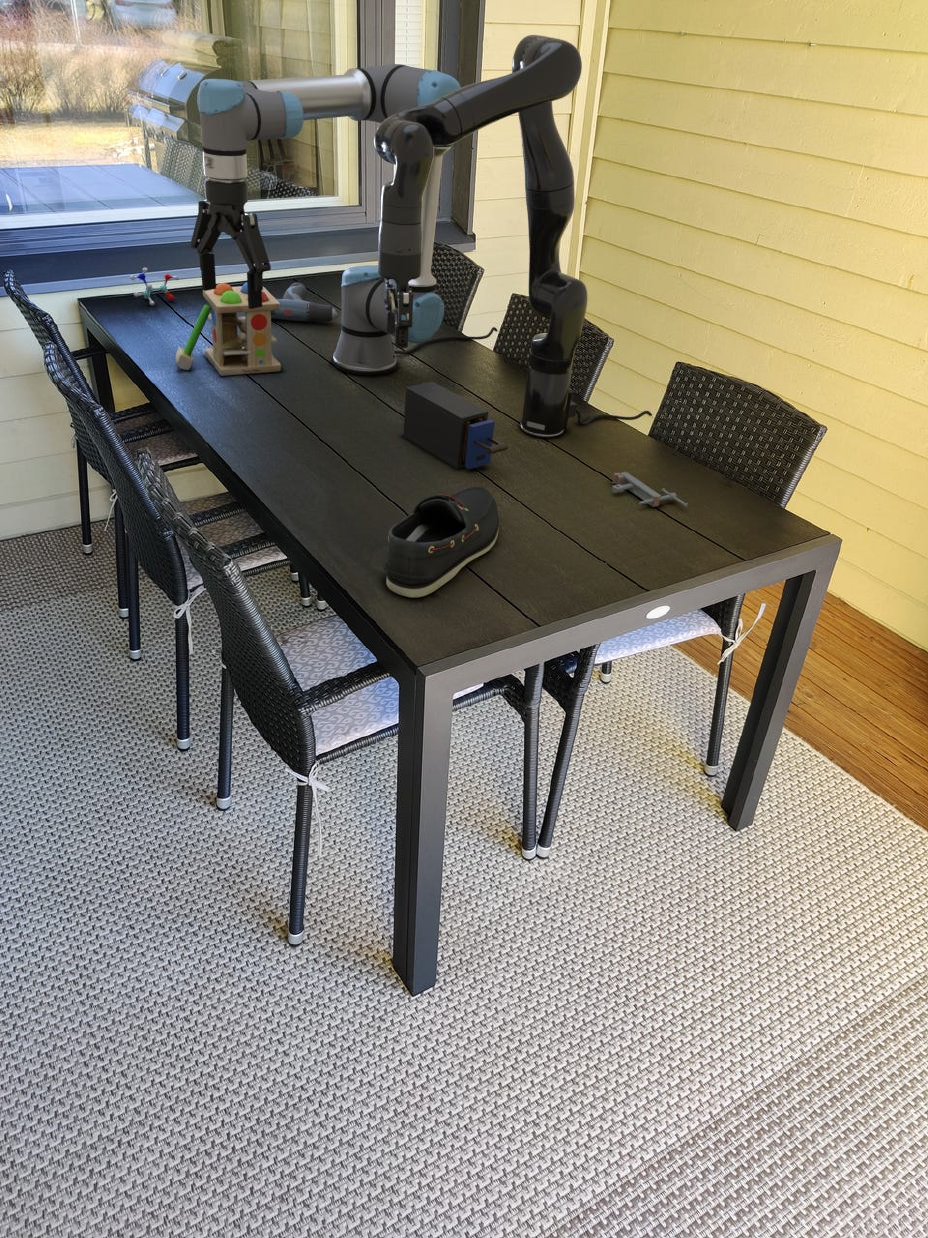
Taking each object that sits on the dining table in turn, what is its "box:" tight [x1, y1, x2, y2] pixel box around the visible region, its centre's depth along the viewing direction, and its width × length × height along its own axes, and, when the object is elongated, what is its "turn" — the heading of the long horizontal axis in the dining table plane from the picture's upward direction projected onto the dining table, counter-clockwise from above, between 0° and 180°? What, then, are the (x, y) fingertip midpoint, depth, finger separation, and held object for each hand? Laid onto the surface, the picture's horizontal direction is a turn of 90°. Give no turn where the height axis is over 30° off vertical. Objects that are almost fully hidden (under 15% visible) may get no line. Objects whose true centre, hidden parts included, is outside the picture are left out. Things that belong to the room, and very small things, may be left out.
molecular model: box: [129, 267, 180, 307], centre depth 263 cm, size 12×10×10 cm
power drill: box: [271, 282, 338, 322], centre depth 265 cm, size 5×19×20 cm
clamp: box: [611, 471, 689, 509], centre depth 190 cm, size 15×2×10 cm
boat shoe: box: [383, 486, 500, 598], centre depth 165 cm, size 13×33×10 cm, turn 147°
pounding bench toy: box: [174, 282, 282, 377], centre depth 225 cm, size 23×14×18 cm, turn 116°
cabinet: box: [403, 381, 489, 470], centre depth 199 cm, size 18×7×11 cm, turn 40°
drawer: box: [461, 417, 509, 470], centre depth 195 cm, size 22×6×9 cm, turn 40°
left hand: (231, 298), depth 187 cm, fingers open, 13 cm apart
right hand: (396, 339), depth 179 cm, fingers open, 8 cm apart
